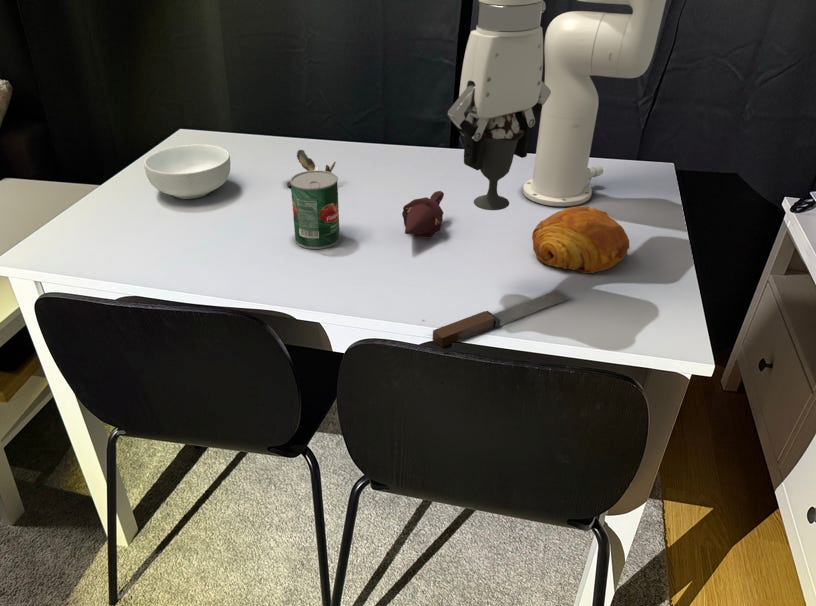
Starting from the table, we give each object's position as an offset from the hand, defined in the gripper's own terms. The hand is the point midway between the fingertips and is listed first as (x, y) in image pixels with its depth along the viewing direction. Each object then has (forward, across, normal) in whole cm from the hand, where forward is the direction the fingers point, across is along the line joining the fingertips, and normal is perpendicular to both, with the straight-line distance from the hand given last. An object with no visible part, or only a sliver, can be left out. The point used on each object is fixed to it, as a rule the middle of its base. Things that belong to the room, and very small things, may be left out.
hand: (495, 159), depth 96 cm
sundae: (+6, 0, 0) cm, 6 cm away
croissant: (+21, -20, 0) cm, 29 cm away
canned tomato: (+21, +13, -29) cm, 38 cm away
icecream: (+21, -3, -20) cm, 29 cm away
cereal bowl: (+21, +24, -62) cm, 70 cm away
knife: (+20, +2, +8) cm, 22 cm away
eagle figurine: (+21, +3, -51) cm, 55 cm away
